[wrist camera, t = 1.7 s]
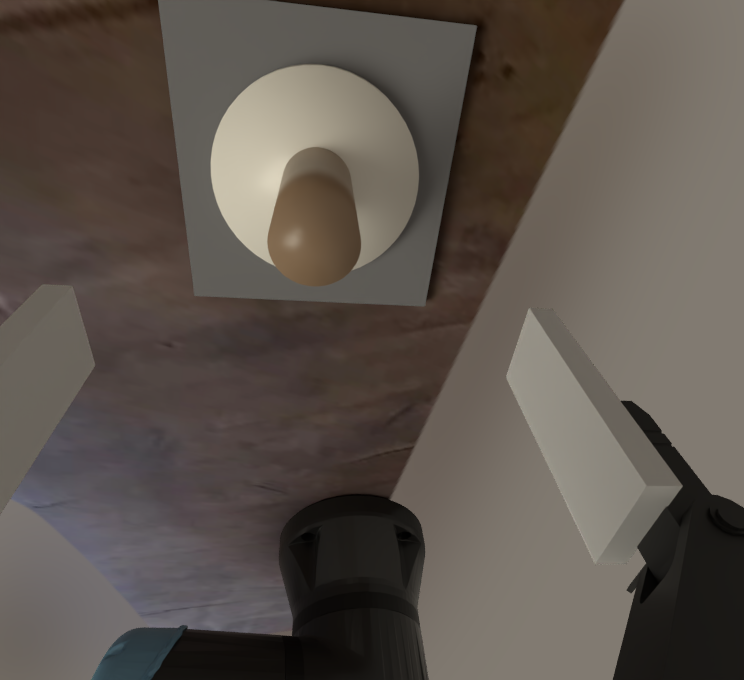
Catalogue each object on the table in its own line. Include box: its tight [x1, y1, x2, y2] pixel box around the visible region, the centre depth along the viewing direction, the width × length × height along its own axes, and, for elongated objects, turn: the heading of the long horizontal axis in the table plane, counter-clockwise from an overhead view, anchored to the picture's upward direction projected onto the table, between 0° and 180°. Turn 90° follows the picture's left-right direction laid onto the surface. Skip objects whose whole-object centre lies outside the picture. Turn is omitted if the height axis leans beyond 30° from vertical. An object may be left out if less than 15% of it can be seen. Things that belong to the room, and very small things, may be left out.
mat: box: [158, 0, 477, 306], centre depth 29 cm, size 17×16×1 cm
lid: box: [211, 64, 419, 286], centre depth 25 cm, size 12×12×10 cm
